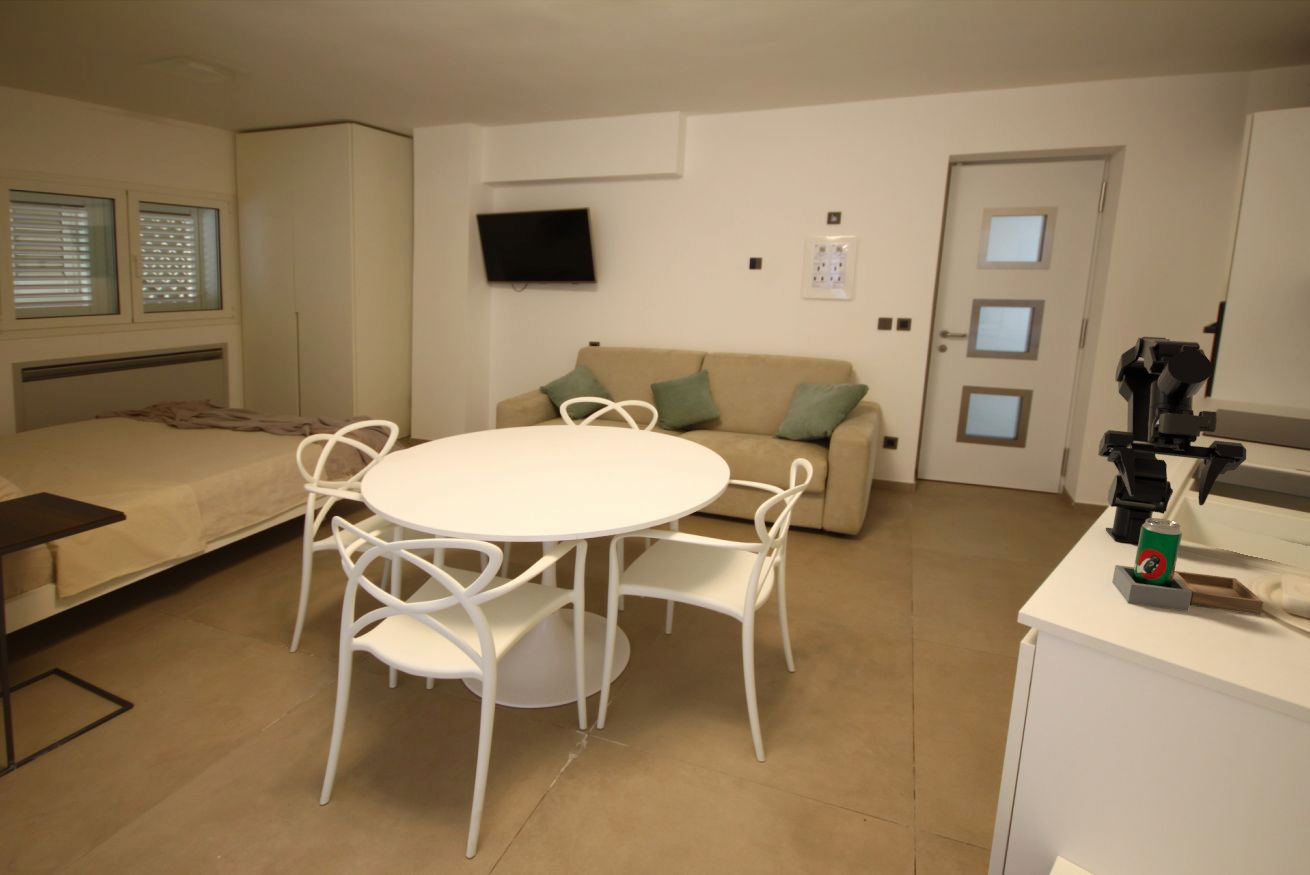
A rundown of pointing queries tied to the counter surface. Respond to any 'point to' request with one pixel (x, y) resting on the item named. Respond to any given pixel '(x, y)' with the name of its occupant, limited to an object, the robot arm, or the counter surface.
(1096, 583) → the counter surface
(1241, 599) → the walnut tray
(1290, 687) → the counter surface
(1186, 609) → the box
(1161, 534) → the soda can
